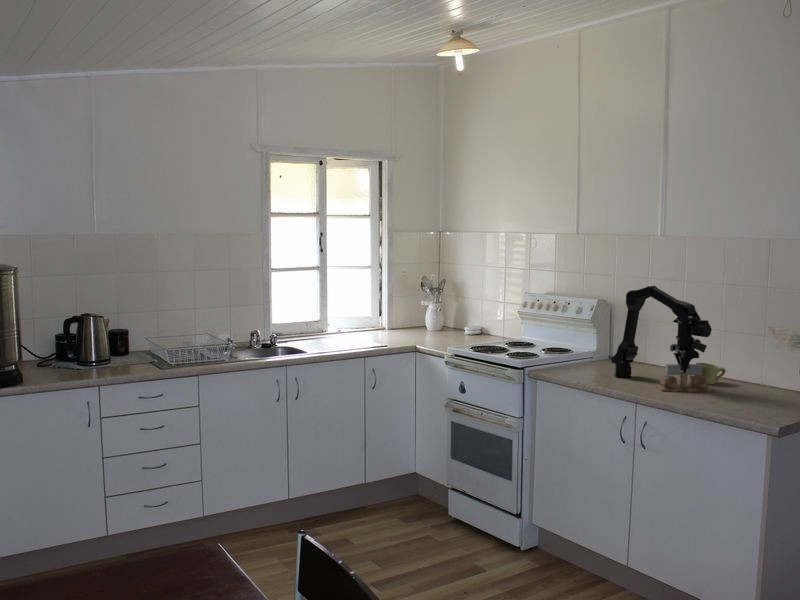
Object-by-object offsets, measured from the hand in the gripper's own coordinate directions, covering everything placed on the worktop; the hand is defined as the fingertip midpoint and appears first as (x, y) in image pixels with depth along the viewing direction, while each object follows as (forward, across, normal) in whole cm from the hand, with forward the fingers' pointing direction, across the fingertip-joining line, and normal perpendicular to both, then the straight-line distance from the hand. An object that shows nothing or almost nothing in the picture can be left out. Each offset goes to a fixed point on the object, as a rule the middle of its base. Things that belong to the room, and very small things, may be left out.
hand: (683, 371), depth 313 cm
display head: (+7, 0, 0) cm, 7 cm away
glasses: (+1, 0, 0) cm, 1 cm away
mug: (+8, +12, -15) cm, 21 cm away
